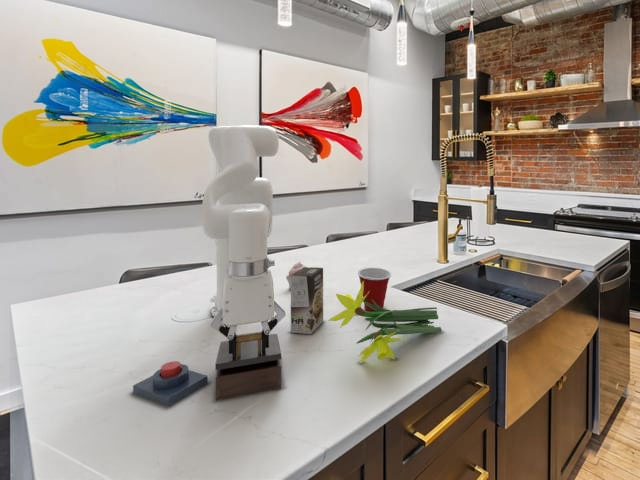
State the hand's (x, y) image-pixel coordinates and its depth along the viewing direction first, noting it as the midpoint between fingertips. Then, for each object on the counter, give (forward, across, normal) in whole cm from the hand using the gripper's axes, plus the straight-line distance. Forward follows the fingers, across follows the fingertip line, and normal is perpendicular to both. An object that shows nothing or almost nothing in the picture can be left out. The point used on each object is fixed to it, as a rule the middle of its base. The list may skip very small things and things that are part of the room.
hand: (249, 352), depth 85 cm
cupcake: (+8, -17, -63) cm, 66 cm away
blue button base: (+8, +16, -6) cm, 18 cm away
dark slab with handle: (+2, 0, -5) cm, 5 cm away
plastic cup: (+8, -38, -34) cm, 51 cm away
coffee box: (+8, -16, -28) cm, 33 cm away
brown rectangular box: (+8, 0, -5) cm, 9 cm away
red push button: (+5, +16, -6) cm, 17 cm away
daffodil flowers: (+8, -35, -8) cm, 36 cm away
